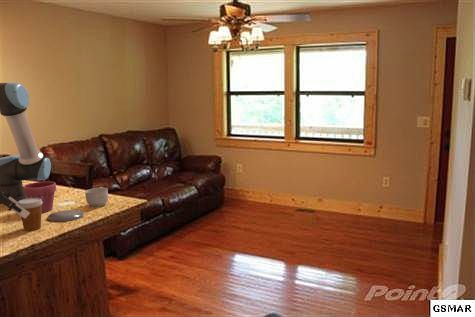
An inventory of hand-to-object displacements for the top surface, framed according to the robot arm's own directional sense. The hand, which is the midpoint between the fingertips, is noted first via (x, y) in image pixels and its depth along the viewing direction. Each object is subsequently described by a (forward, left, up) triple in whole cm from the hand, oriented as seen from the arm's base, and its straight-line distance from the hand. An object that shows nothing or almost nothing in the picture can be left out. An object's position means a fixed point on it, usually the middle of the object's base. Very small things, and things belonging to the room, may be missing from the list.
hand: (24, 211), depth 171 cm
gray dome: (-15, +14, -8) cm, 22 cm away
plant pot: (-30, +2, -8) cm, 31 cm away
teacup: (-32, +28, -8) cm, 43 cm away
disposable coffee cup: (-2, +2, -8) cm, 9 cm away
